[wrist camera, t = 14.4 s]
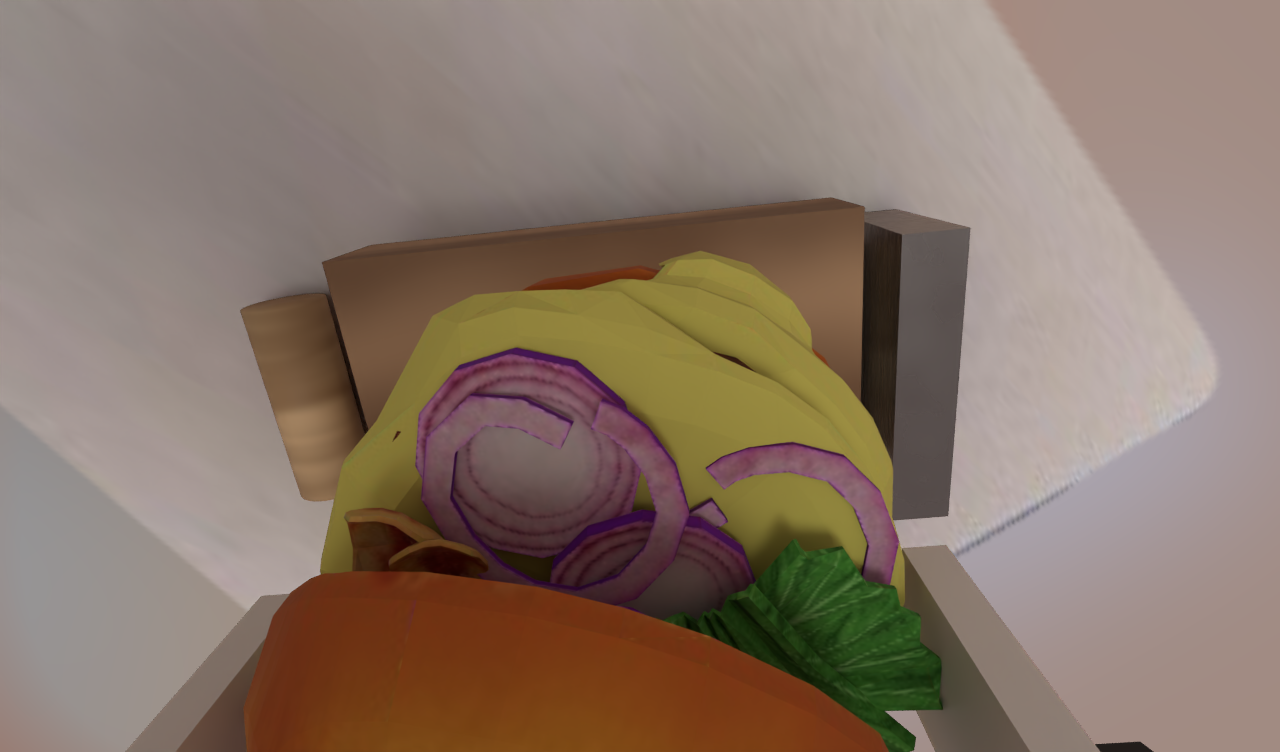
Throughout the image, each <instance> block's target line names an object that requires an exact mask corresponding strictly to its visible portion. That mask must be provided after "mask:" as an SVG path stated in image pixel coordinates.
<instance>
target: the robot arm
mask: <svg viewBox="0 0 1280 752" xmlns="http://www.w3.org/2000/svg"><path fill="white" fill-rule="evenodd" d="M902 554H903V557H904V568H905V603H904V606H903V607H905V608H907V609H909V610H912V611H914V612H916V613H918V614H919V615H920V617H921V632H920V642H921V643H922V644H924V645H925V646H926V647H928V648H929V649H930V650H931V651H933V652H934V653H935V654H936V655H938V656H939V657H940V659H941V667H942V670H941V682H940V695H939V699H940V701H941V703H942V707H943V710H916V711H917V714H918V716H919V718H920V720H921V722H922V724H923V726H924V728H925V730H926V733H927V735H928V737H929V739H930V741H931V743H932V745H933V747H934V750H935V752H1153V751H1152V750H1151V749H1149V748H1148V747H1147V746H1145V745H1144V744H1142V743H1141V742H1127V743H1109V744H1094V743H1093V741H1092V740H1091V738H1090V737H1089V736H1088V734H1087V733H1086V732H1085V730H1084V729H1083V728H1082V727H1081V725H1080V724H1079V722H1078V721H1077V720H1076V718H1075V717H1074V716H1073V714H1072V713H1071V712H1070V710H1069V709H1068V708H1067V706H1066V705H1065V704H1064V702H1063V701H1062V700H1061V699H1060V697H1059V696H1058V694H1057V693H1056V692H1055V690H1054V689H1053V688H1052V686H1051V685H1050V684H1049V682H1048V681H1047V680H1046V678H1045V677H1044V676H1043V674H1042V673H1041V672H1040V670H1039V669H1038V667H1037V666H1036V665H1035V664H1034V662H1033V661H1032V660H1031V658H1030V657H1029V656H1028V654H1027V653H1026V651H1025V650H1024V649H1023V648H1022V646H1021V645H1020V643H1019V642H1018V641H1017V639H1016V638H1015V637H1014V635H1013V634H1012V633H1011V631H1010V630H1009V629H1008V627H1007V626H1006V625H1005V623H1004V622H1003V621H1002V619H1001V618H1000V617H999V615H998V614H997V613H996V611H995V610H994V609H993V607H992V606H991V605H990V603H989V602H988V601H987V599H986V598H985V596H984V595H983V594H982V593H981V591H980V590H979V588H978V587H977V586H976V584H975V583H974V582H973V580H972V579H971V578H970V576H969V575H968V574H967V572H966V571H965V570H964V568H963V567H962V566H961V564H960V563H959V562H958V560H957V559H956V558H955V556H954V555H953V554H952V552H951V551H950V550H949V548H948V547H947V546H946V545H940V546H926V547H913V548H902ZM288 596H289V594H282V595H269V596H261V597H260V598H259V599H258V601H257V602H256V603H255V604H254V605H253V606H252V607H251V609H250V610H249V611H248V612H247V613H246V614H245V615H244V617H243V618H242V619H241V620H240V621H239V622H238V623H237V625H236V626H235V627H234V628H233V629H232V630H231V632H230V633H229V634H228V635H227V636H226V637H225V638H224V639H223V641H222V642H221V643H220V644H219V645H218V647H216V649H215V650H214V651H213V652H212V653H211V654H210V655H209V657H208V658H207V659H206V660H205V661H204V662H203V664H202V665H201V666H200V667H199V668H198V669H197V670H196V672H195V673H194V674H193V675H192V676H191V677H190V678H189V680H188V681H187V682H186V683H185V684H184V685H183V686H182V688H181V689H180V690H179V691H178V692H177V693H176V694H175V695H174V697H173V698H172V699H171V700H170V701H169V702H168V704H167V705H166V706H165V707H164V708H163V709H162V710H161V711H160V713H159V714H158V715H157V716H156V717H155V718H154V719H153V721H152V722H151V723H150V724H149V725H148V727H146V729H145V730H144V731H143V732H142V733H141V734H140V735H139V737H138V738H137V739H136V740H135V741H134V742H133V744H132V745H131V746H130V747H129V748H128V749H127V750H126V752H247V747H246V734H245V722H244V710H243V708H244V705H245V702H246V698H247V695H248V692H249V689H250V686H251V683H252V680H253V677H254V674H255V670H256V667H257V664H258V661H259V658H260V655H261V652H262V649H263V645H264V642H265V639H266V636H267V633H268V630H269V627H270V624H271V620H272V617H273V615H274V614H275V613H276V611H277V610H278V609H279V607H280V606H281V605H282V603H283V602H284V601H285V600H286V598H287V597H288Z"/></svg>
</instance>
